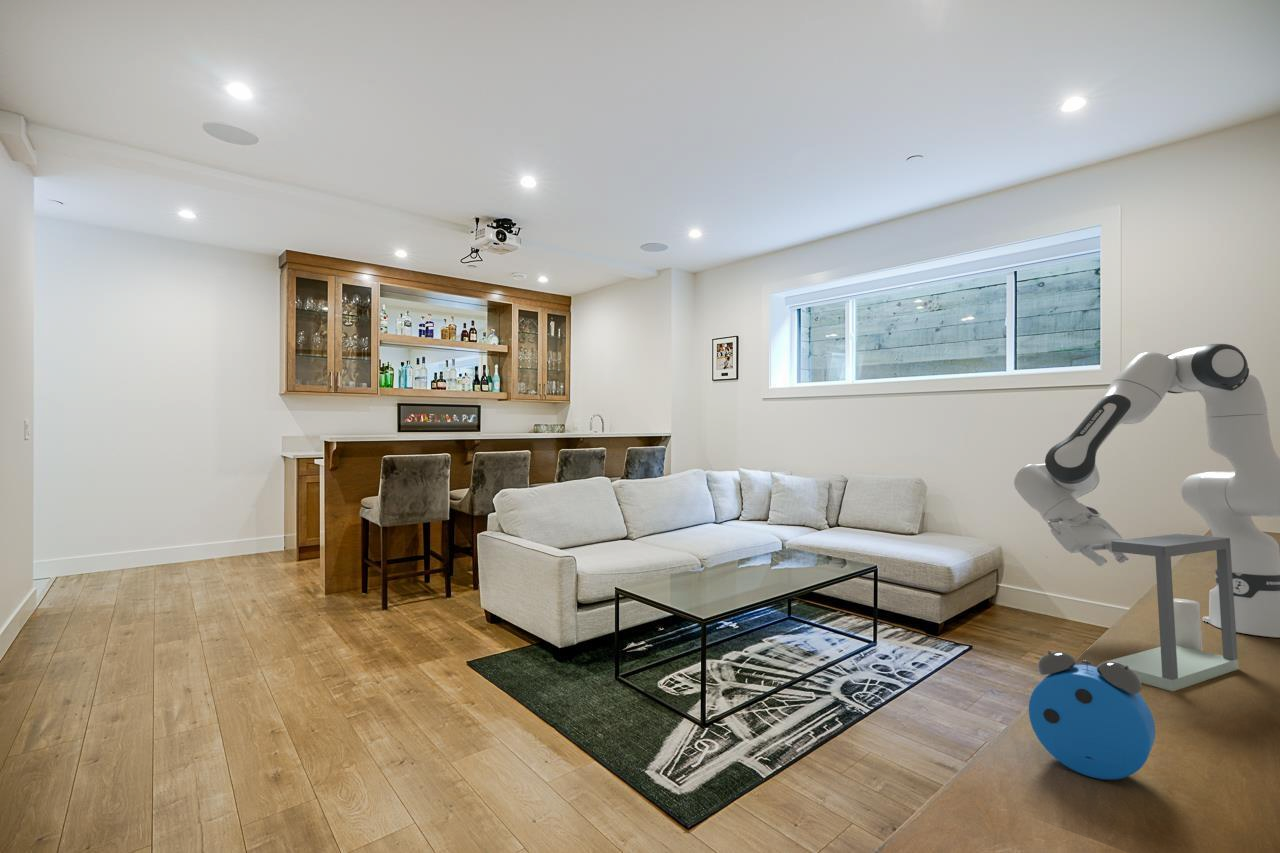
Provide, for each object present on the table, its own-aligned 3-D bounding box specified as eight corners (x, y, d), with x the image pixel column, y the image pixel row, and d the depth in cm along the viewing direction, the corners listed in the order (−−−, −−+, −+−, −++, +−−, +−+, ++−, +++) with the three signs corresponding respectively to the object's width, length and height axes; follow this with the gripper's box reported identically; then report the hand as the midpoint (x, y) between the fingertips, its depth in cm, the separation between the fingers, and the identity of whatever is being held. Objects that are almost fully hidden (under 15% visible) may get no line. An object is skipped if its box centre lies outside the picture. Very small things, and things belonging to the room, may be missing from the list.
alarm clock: (1158, 780, 78) (1152, 663, 79) (1152, 799, 73) (1145, 674, 74) (1040, 746, 87) (1036, 642, 88) (1029, 761, 83) (1024, 651, 84)
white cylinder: (1175, 647, 133) (1172, 597, 134) (1207, 654, 129) (1204, 602, 129) (1163, 650, 131) (1160, 599, 132) (1195, 657, 126) (1192, 605, 127)
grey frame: (1170, 653, 129) (1163, 532, 131) (1238, 669, 119) (1229, 538, 121) (1103, 672, 117) (1096, 539, 119) (1173, 691, 108) (1164, 546, 109)
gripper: (1053, 511, 145) (1100, 557, 136) (1100, 509, 154) (1147, 552, 145) (1035, 527, 149) (1079, 574, 139) (1081, 524, 158) (1126, 568, 148)
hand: (1114, 563), depth 142 cm, fingers open, 8 cm apart
